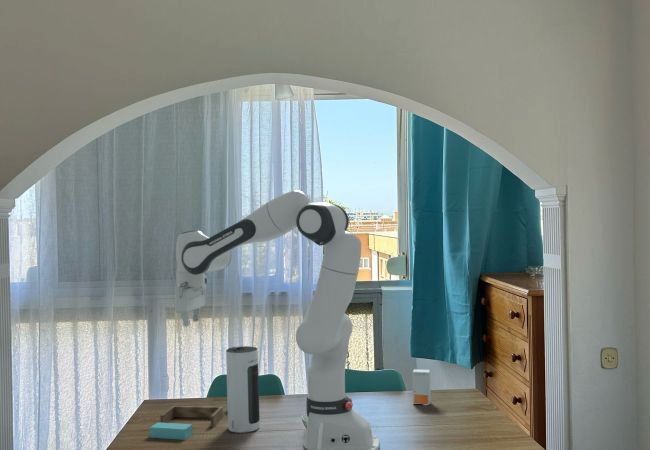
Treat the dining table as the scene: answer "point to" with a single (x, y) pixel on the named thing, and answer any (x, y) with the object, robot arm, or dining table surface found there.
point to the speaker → (242, 389)
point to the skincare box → (421, 387)
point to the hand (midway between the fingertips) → (191, 323)
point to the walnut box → (193, 413)
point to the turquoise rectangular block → (171, 431)
